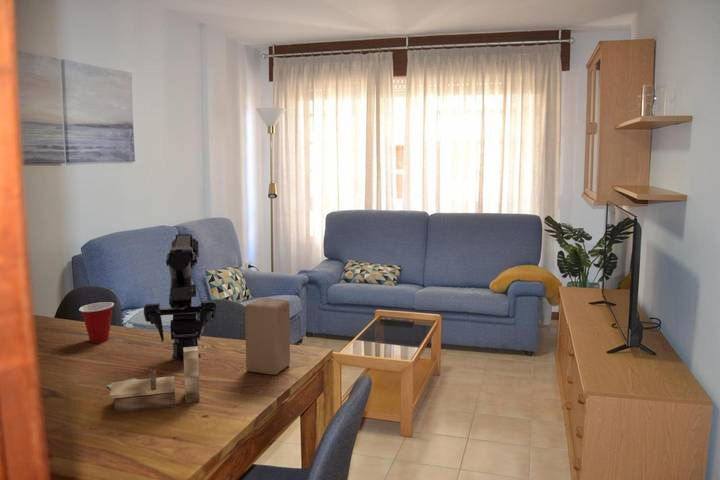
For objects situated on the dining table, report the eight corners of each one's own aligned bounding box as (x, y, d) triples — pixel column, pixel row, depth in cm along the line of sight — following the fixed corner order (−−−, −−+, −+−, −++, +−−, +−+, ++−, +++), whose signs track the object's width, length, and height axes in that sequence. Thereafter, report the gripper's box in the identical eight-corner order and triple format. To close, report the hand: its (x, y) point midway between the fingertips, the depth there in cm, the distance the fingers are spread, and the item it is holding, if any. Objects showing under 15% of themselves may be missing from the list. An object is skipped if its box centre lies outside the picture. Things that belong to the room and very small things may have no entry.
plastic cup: (84, 336, 208) (82, 302, 207) (117, 334, 211) (116, 300, 209) (77, 346, 198) (75, 310, 196) (113, 343, 200) (111, 308, 199)
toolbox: (197, 390, 162) (197, 377, 161) (199, 403, 154) (199, 390, 153) (117, 399, 156) (116, 386, 155) (114, 413, 147) (114, 399, 147)
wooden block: (291, 365, 182) (290, 299, 179) (276, 376, 173) (275, 307, 170) (261, 361, 185) (260, 296, 182) (244, 372, 176) (243, 304, 173)
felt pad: (135, 378, 170) (135, 377, 170) (148, 386, 164) (148, 385, 164) (106, 386, 164) (106, 385, 164) (119, 394, 159) (119, 393, 159)
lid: (174, 379, 160) (173, 367, 159) (174, 391, 151) (174, 379, 151) (112, 385, 155) (111, 373, 155) (109, 398, 147) (109, 386, 146)
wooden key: (198, 394, 160) (197, 346, 158) (199, 399, 156) (198, 350, 154) (184, 395, 158) (183, 347, 157) (185, 401, 155) (183, 351, 153)
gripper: (142, 275, 161) (139, 329, 153) (215, 272, 166) (216, 324, 157) (147, 295, 171) (144, 347, 162) (215, 292, 175) (216, 342, 167)
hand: (180, 340), depth 162 cm, fingers open, 9 cm apart
